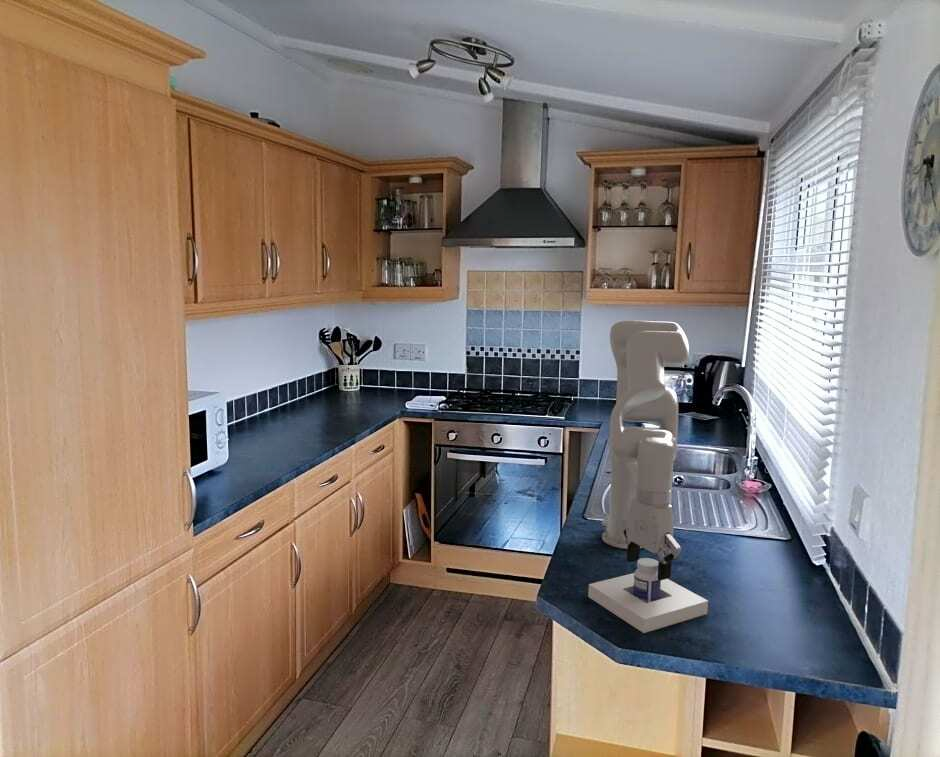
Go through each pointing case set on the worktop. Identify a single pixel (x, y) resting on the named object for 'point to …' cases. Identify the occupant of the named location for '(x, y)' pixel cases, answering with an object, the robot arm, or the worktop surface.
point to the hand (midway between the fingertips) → (648, 569)
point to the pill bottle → (647, 580)
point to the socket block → (651, 615)
